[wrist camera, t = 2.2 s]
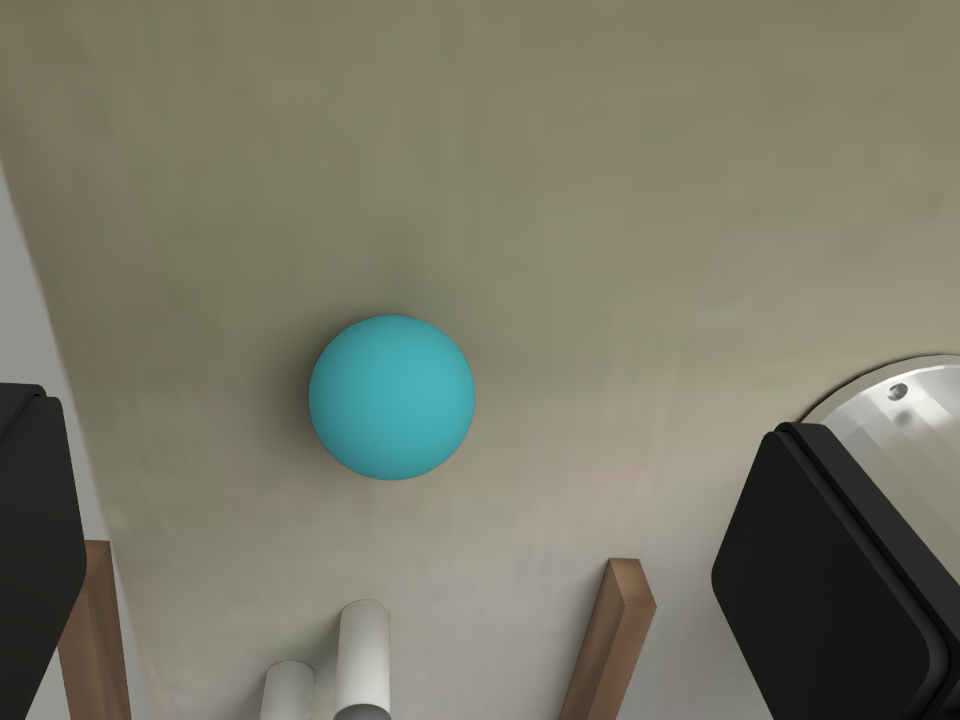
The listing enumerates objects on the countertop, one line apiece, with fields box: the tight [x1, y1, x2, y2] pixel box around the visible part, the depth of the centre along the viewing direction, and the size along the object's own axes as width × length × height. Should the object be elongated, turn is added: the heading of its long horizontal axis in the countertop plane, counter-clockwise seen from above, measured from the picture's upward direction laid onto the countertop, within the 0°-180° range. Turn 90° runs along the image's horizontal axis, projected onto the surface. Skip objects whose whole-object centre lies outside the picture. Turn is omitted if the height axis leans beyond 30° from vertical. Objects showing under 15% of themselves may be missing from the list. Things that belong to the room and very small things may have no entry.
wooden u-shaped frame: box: [57, 540, 657, 720], centre depth 39 cm, size 26×17×3 cm, turn 82°
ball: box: [309, 315, 475, 480], centre depth 28 cm, size 6×6×6 cm
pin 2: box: [333, 600, 391, 720], centre depth 35 cm, size 2×2×8 cm
